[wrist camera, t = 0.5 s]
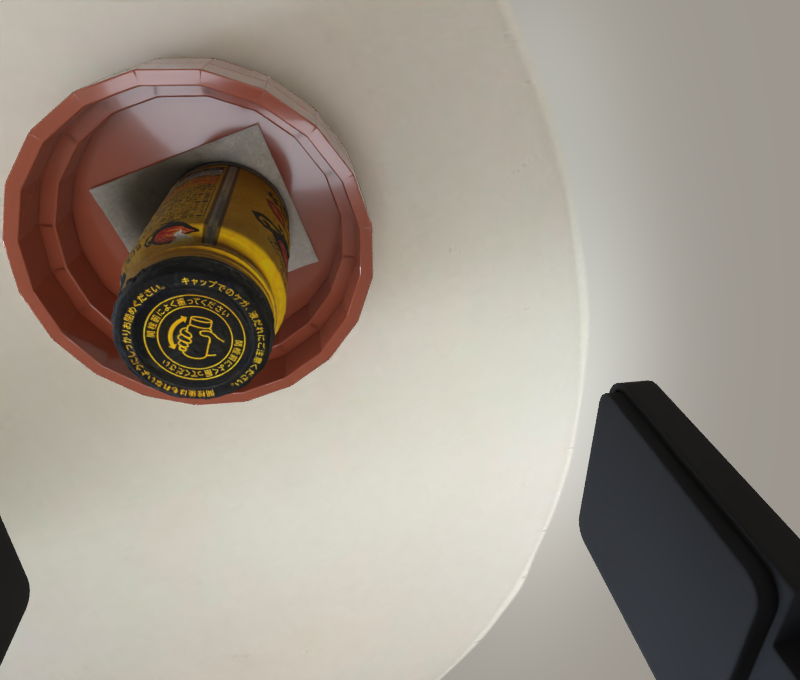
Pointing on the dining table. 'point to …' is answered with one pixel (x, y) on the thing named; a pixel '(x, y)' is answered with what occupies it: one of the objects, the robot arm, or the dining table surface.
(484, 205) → the dining table surface
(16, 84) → the dining table surface
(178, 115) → the bowl
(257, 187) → the condiment
